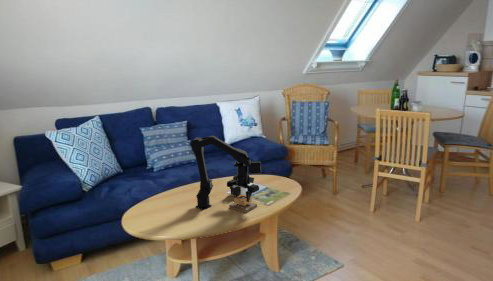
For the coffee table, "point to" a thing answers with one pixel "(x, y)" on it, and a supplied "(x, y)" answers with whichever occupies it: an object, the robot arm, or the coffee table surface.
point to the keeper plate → (243, 208)
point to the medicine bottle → (241, 190)
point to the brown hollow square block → (242, 200)
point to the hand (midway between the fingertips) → (242, 200)
